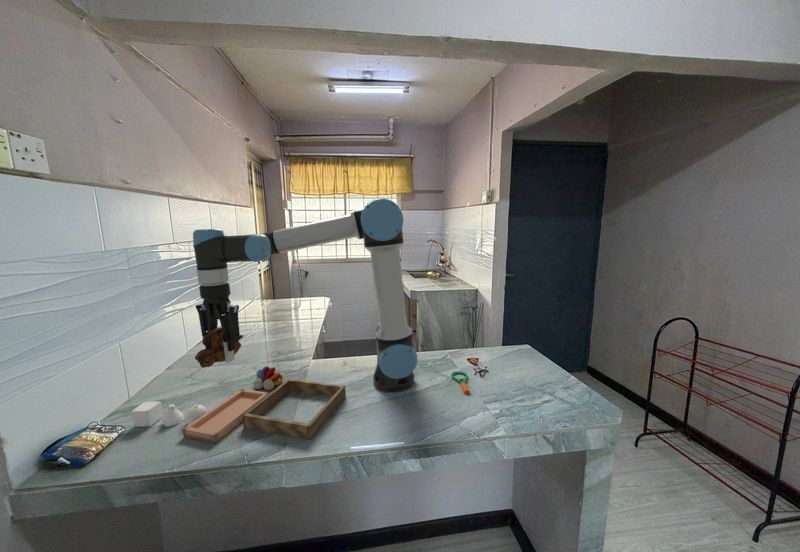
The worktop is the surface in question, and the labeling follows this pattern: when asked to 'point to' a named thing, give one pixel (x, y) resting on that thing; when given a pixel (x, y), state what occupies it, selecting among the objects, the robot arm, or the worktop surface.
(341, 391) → the frame
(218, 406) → the tray
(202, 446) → the worktop surface
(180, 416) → the container set
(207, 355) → the wooden carving
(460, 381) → the magnifying glass
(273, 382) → the rainbow ball cluster
